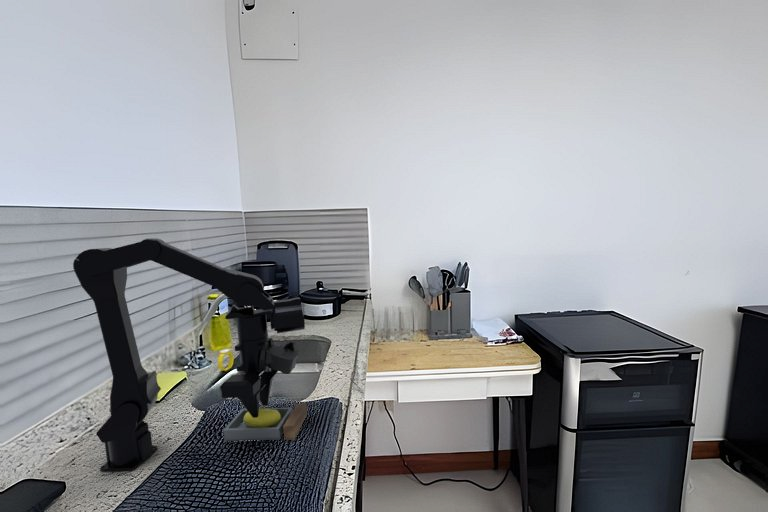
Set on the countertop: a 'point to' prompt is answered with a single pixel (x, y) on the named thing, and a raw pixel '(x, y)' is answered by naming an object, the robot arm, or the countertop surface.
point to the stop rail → (295, 421)
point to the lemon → (262, 418)
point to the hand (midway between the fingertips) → (260, 410)
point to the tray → (249, 433)
